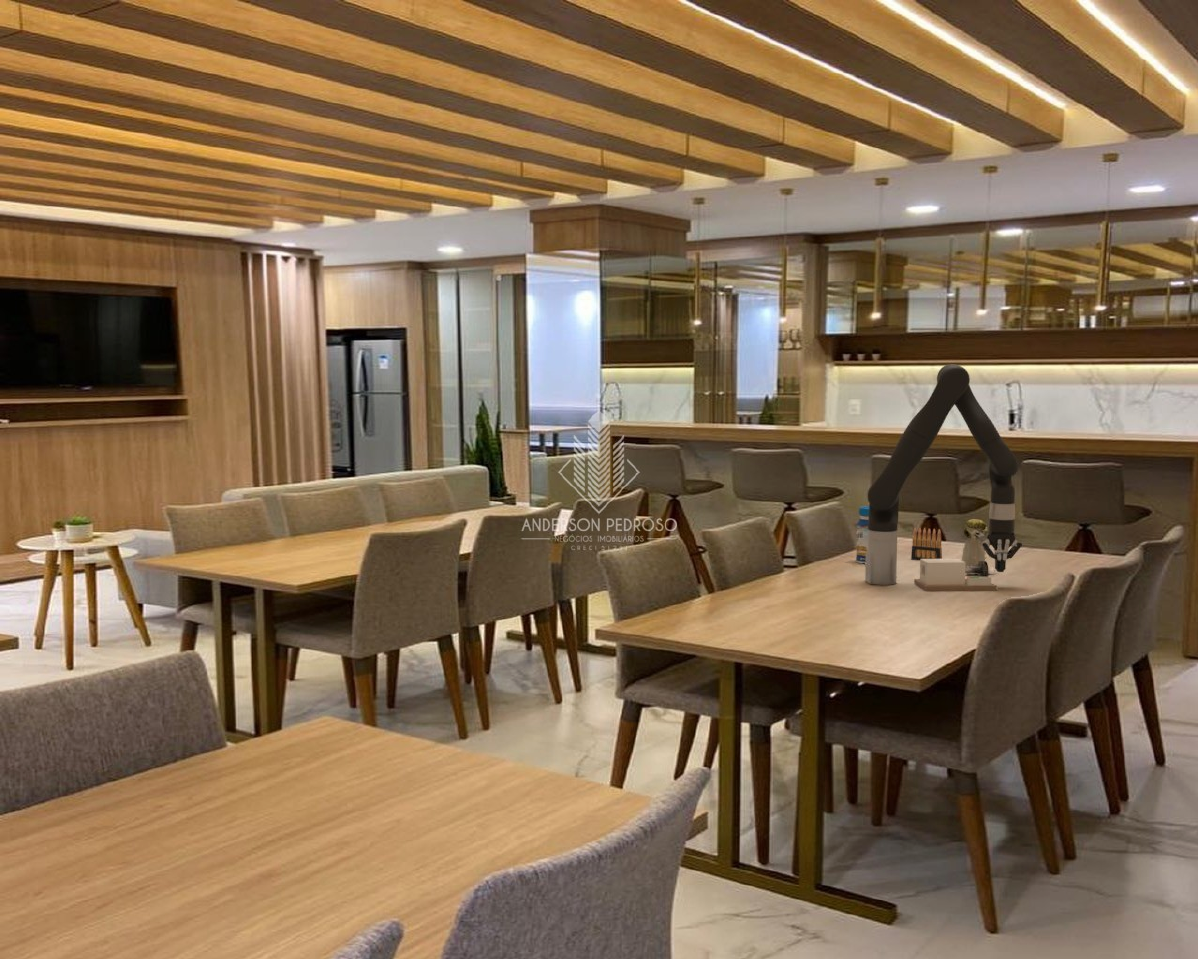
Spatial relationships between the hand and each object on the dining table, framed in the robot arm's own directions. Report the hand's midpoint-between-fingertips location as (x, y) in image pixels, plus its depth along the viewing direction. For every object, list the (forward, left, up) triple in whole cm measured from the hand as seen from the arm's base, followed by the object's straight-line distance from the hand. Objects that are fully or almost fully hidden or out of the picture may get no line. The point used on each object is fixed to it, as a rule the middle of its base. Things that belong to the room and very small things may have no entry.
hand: (1000, 571), depth 332 cm
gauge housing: (-14, 0, -5) cm, 15 cm away
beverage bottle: (-30, +46, -5) cm, 55 cm away
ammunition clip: (-8, +49, -5) cm, 50 cm away
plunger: (-12, -1, -2) cm, 12 cm away
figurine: (+1, +24, -5) cm, 24 cm away
